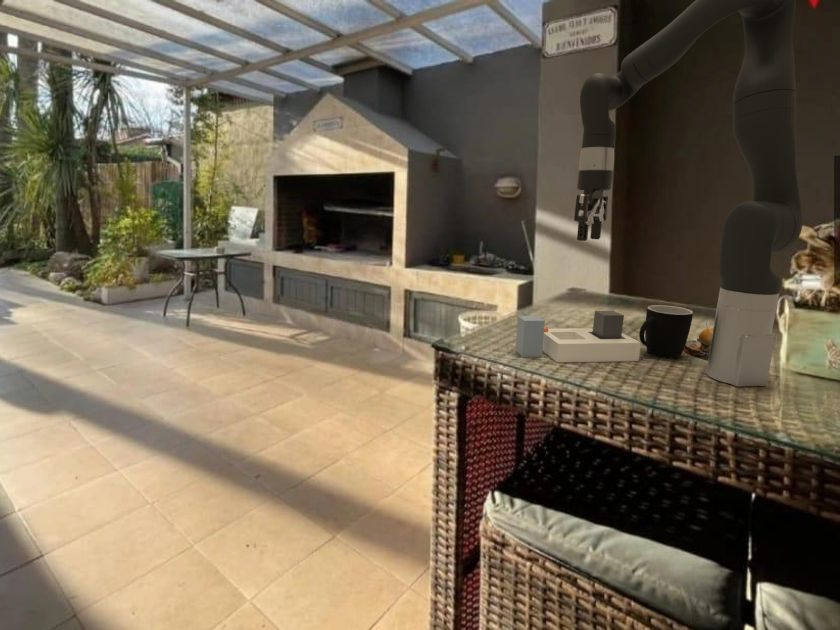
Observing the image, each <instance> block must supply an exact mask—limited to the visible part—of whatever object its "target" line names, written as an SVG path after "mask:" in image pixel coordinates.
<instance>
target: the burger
mask: <svg viewBox="0 0 840 630" xmlns="http://www.w3.org/2000/svg"><path fill="white" fill-rule="evenodd" d="M706 326H708V325H707V323H706ZM712 333H713V328H708V327H706V328H705V329H704V330H702V331H701V332H700V333H699V335H698V338H697V339H696V340H695V339H693V340H688V341H687V342H686V345H685V347H684V350H683V352H686V355H689V356H691V357H694V358H697V359H698V358H699V359H702V360H706V361H708V358H709V351H710V345H711V339H712Z"/></svg>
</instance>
